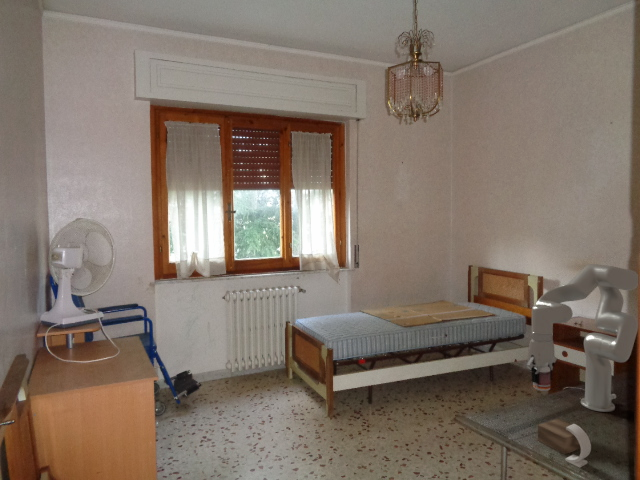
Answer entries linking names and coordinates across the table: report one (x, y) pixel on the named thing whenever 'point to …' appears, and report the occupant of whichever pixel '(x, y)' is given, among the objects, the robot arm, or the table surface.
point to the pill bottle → (543, 378)
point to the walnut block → (558, 436)
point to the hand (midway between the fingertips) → (541, 380)
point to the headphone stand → (584, 446)
